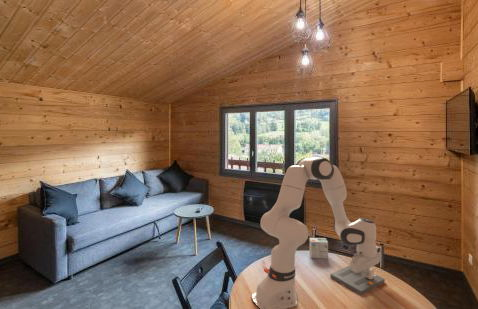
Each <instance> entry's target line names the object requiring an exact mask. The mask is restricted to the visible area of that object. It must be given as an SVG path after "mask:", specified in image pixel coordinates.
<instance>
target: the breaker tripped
mask: <svg viewBox="0 0 478 309" xmlns="http://www.w3.org/2000/svg"><path fill="white" fill-rule="evenodd" d="M374 274H375V268H372V267H370V270H369V272H368V275H367V276H365V277H366V278H368V279H372V278H374Z"/></svg>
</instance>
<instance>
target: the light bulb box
mask: <svg viewBox="0 0 478 309" xmlns="http://www.w3.org/2000/svg"><path fill="white" fill-rule="evenodd" d="M308 239H309V249H308V251H309V252H308V253H309V256H310V258H311V259H329V241H328V239H327V238H326V237H309V238H308Z"/></svg>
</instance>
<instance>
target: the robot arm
mask: <svg viewBox="0 0 478 309" xmlns="http://www.w3.org/2000/svg"><path fill="white" fill-rule="evenodd" d="M339 169H340V168H338V166H336V165H335V164H333V163H332V162H331V161H330V159H328V158H325V157H323V156H322V157H320V156H319V157H318V156H317V157H315V156H310V157H303V158H301V159H299V160H298V161H297V162H296V163H295V164H294V165H290V166H289V167H288V168H287V169H286V172H285V174H284V177H283V180H282V182H281V186H280V189H279V193H278V197H277V199H276V202H275V203H274V205H273V206H272V208H271V209H270V210H269V211H267V212H265V213H264V214H263V215H262V216H261V217H260V228H261V230H262V231H264V232H265V233H266V234H268V235H270V236H272V237H274V238H277V239H278V242H279V243H278V245H277V244H276V245H275V246H273V248H272V249H271V252H270V259H271V261H270V265H269V268H268V267H265V268H264V269H263V271H264V273H266V275H265V277H264V278H263V279H262V280H261V281H260V282H259V283H258V284H257V287H256V291H255V292H254V293H252V294H251V297H252V298H251V300H253V301H254V303H255V304H256V305H257V306H258V307H259V308H260V309H291V308H294V307H297V306H298V301H297V300H298V297H299V296H298V293H297V288H296V279H295V277H296V266H295V263H296V262H295V261H296V258H295V257H296V252H297V249H298V248H299V247H300V246H302V245H304V244H305V243H306V242H307V240H308V239H309V238H308V237H309V229H308V226H307V225H306V224H304V223H303V222H302V221H300V220H298V219H295V218H291V217H290V214H291V213H292V212H293V211H295V210H298V209H299V208H300V207H301V206H302V201H303V198H304V193H305V190H306V184H307V182H308V181H309V180H318V181H319V182H320V184H321V188H322V191H323V193H324V196H325V198H326V199H327V202H328V203H329V205H330V207H331V210H332V211H331V212H332V214H333V220H334V221H333V230H334V232H335V233H336V234H337V235H338V238H339V239H340V240H341V242H342V243H343V244H345V245H347V246H356V253H354V255H353V256H352V258H351V267H350V269H351V271H353V272H355V273H359V272H361V271H362V276H364V277H365V276H367V275H368V272H369V270H370V268H372V267H373V266H376V265H378V264H379V263H380V262H381V257H382V256H381V255H382V254H381V252H382V248H381V246H378V245H377V244H376V240H377V227H376V223H375V222H374V221H373V220H372V219H370V218H366V217H359V218H358V219H357V220H355V221H353V222H352V221H351V220H350V219H349V218H348V216H347V214H346V211H345V206H344V201H345V200H346V199H347V197H348V192H347V187H346V183H345V181H344V178H343V176H342V173H341V171H340V170H339ZM254 298H255V299H254ZM253 301H252V302H253ZM254 303H253V304H254ZM255 304H254V305H255ZM256 305H255V306H256ZM257 306H256V307H257ZM258 307H257V308H258ZM259 308H258V309H259Z"/></svg>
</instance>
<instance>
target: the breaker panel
mask: <svg viewBox="0 0 478 309" xmlns="http://www.w3.org/2000/svg"><path fill="white" fill-rule="evenodd" d="M329 276H330V278H331V279H333V280H334V281H336V282H338V283H339V284H341V285H343V286H345V287H346V288H348V289H350V290H351V291H353V292H355V293H356V294H358V295H359V296H362V295H364V294H366V293H368V292H369V291H372V290H373V289H376V288H377V287H379V286H381V285H382V283H383V284H385V283H384V282H386V280H385V278H384V277H382V276H380V275H378V274H375V273H374V278H372V279H368V278H366V277H364V276H362V271H361V272H359V273H355V272H353V271H351V269H350V265H348V266H346V267H343V268H340V269H338V270H336V271H334V272H331V273H330V275H329ZM380 284H381V285H380Z"/></svg>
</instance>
